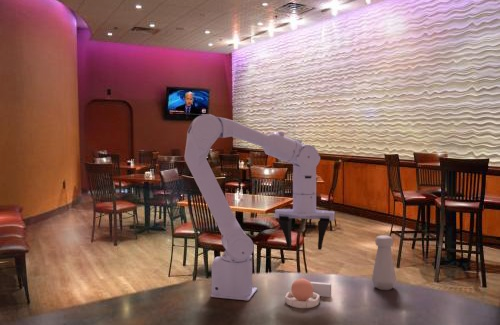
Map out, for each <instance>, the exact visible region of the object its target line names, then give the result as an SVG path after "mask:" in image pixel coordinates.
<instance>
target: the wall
mask: <svg viewBox="0 0 500 325" xmlns="http://www.w3.org/2000/svg"><path fill="white" fill-rule="evenodd" d="M309 282H310V283H311V284H312V286H313V292H314V293H316V294H318V295H320V297H325V298H331V297H332V283H331V282H330V283H329V282H320V281H319V282H317V281H309Z"/></svg>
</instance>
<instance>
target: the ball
mask: <svg viewBox="0 0 500 325" xmlns="http://www.w3.org/2000/svg"><path fill="white" fill-rule="evenodd" d="M310 282H311V281H310V280H308V279H306V278H297V279H296V280H294V281H293V283H292V285H291V287H290V288H291V291H290V292H292V295H293V296H294V297H295V298H296V299H297V300H300V301H305V300H308V299H309V298H310V297H311V296H312V293H313V286H312V284H311V283H310Z"/></svg>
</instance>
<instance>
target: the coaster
mask: <svg viewBox="0 0 500 325" xmlns="http://www.w3.org/2000/svg"><path fill="white" fill-rule="evenodd" d="M320 297H321V296H320V295H318V294H316V293H314V292H313V293H312V296H311V297H310V298H309V299H308V300H305V301H300V300H297V299H296V298H295V297H294V296H293V295H292V292H291V291H287V292H286V294H285V296H284V301H285V303H286V304H287V306H289V305H290V306H289V307H293V308H297V309H311V308H315V307H317V306H318V305H319V303H320V300H321V298H320Z"/></svg>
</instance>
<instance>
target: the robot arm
mask: <svg viewBox="0 0 500 325" xmlns="http://www.w3.org/2000/svg"><path fill="white" fill-rule="evenodd" d="M186 132H187V133H186V141H185V142H186V143H185V149H184V157H183V158H184V161H185V164H186V165H187V167H188V169H189V171H190V173H191V175H192V177H193V178H194V181H195V183H196V185H197V187H198V188H199V191H200V193H201V195H202V197H203V199H204V201H205V203H206V205H207V206H208V209H209V211H210V213H211V215H212V217H213V220H214V221H215V224H216V225H217V228H218V230H219V232H220V234H221V244H222V246H223V249H225V250H224V252H223V253H222V254H221V256H216V257H214V259H213V261H212V264H211V294H210V297H212V298H216V299H217V298H220V299H229V300H238V301H239V300H240V301H250V300H251V298H253V296H254V295H255V293H256V292H257V290H258V287H253V255H252V254H253V252H254V248H255V246H254V242H253V240H252V239H251V237H250V236H248V235H247V234H246V233H245V231H244V230H243V229H242V227H241V224H240V223H239V222H238V220H237V218H236V216H235V215H234V212H233V211H232V209H231V206H230V204H229V203H228V200H227V198H226V196H225V194H224V192H223V190H222V188H221V186H220V184H219V182H218V180H217V178H216V176H215V174H214V171H213V170H212V168H211V166H210V164H209V162H208V160H207V158H208V155H209V153H210V150H211V149H212V146H213V145H214V144H215V142H216V141H217V140H218V139H219V138H222V139H225V138H230V137H233V138H235V139H239V140H241V141H244V142H247V143H250V144H253V145H256V146H259V147H261V148H262V150H263V151H264V154H265V155H268V156H269V157H273V158H276V159H278V160H280V161H283V162H286V163H288V164H292V165H293V166H292V171H293V172H292V208H279V209H278V208H277V209H275V210H274V218H275V219H278V225H279V226H280V228H281V230H282V233H283V235H284V238H285V242H286V247H287V248H288V249H289V248H291V247H292V222H293V219H301V220H302V219H306V220H318V221H317V230H318V232H317V233H318V237H317V238H318V241H317V250H322V249H323V242H324V238H325V236H326V235H325V234H326V231H327V229H328V227H329V225H330V222H331V221H332V222H334V221H335V218H336V217H335V214H336V212H335V211H334V210H333V211H331V210H322V209H321V210H320V209H317V166H318V165H319V163H320V161H321V156H320V154H319V152H318V150H317V148H316V147H315V146H313V145H311V144H304V143H303V141H302V140H301V139H298V138H297V139H293V138H291V137H288V136H285V132H282V131H278V132H275V131H273V132H270V133H269V134H266V133H263V132H261V131H259V130H256V129H254V128H251V127H249V126H247V125H246V124H243V123H240V122H238V121H235V120H232V119H229V118H225V117H220V116H215V115H214V114H210V113H206V114H205V113H204V114H201V115H198V116H196V117H195V118H194V119H193V120H192V122H191V123H190V125H189V127H188V129H187V131H186Z"/></svg>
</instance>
